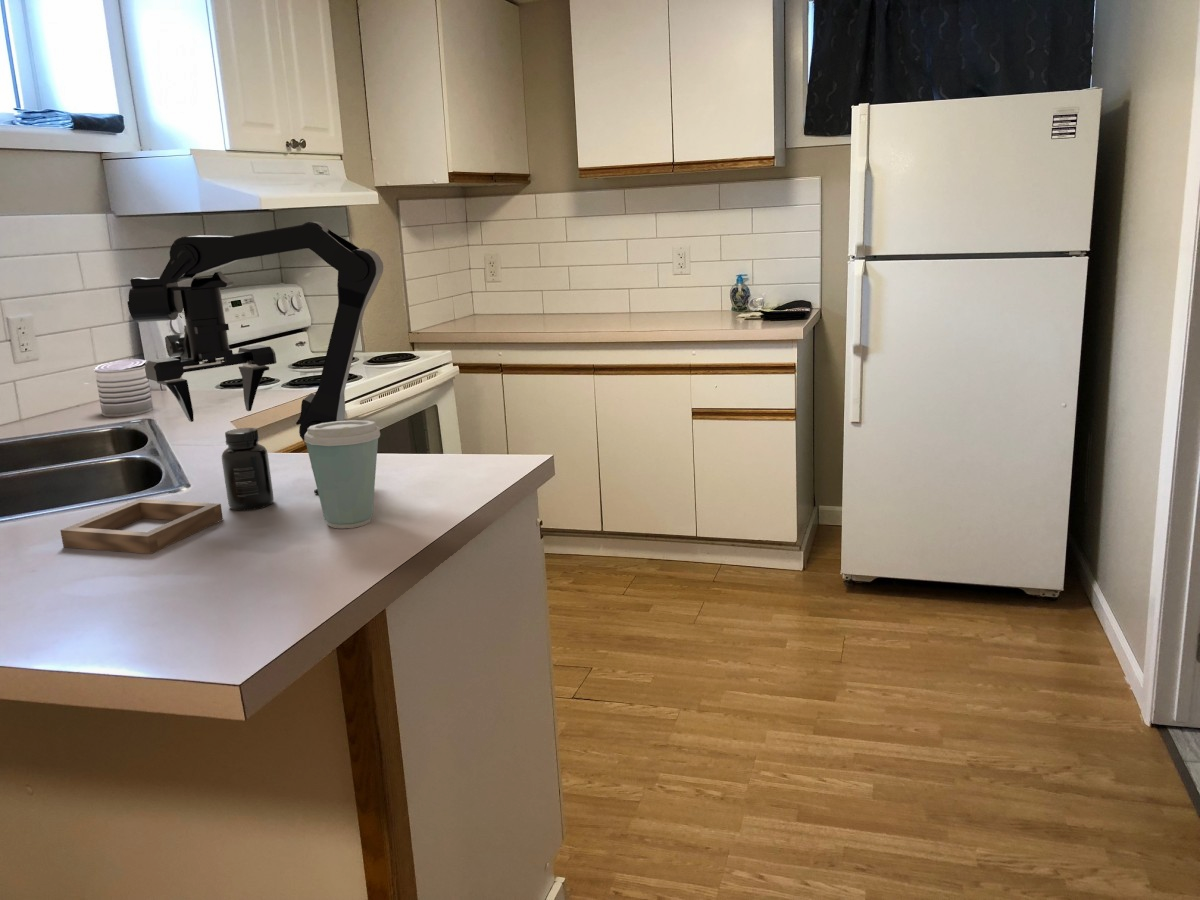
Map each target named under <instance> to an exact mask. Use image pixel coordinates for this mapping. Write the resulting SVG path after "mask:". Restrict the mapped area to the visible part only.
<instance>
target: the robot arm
mask: <svg viewBox="0 0 1200 900" xmlns="http://www.w3.org/2000/svg"><path fill="white" fill-rule="evenodd" d="M304 249H305V250H306V249H309V250H310V251H311V252H313V253H315V254H316V255H317V256H318V257H319V258H321V259H322V260H323V261H324V262H326V264H327V265H329V266H331V267H332V269H335V270H336V271H337V285H336V286H337V289H336V290H337V299H338V300H337V301H338V303H337V304H338V305H337V310H336V313H335V318H334V322H333V326H332V329H331V334H330V338H329V341H328V342H329V343H328V347H327V350H326V354H325V359H324V362H323V367H322V370H321V376H320V378H319V384H318V388H317V390H316V392H315V393H313V392H312V393H310V394H309V395H307V396H305V397H304V398H303V399H302V401H301V407H300V415H299V418H298V420H297V421H296V422H295V424H296V425H299V429H298V433H299V434H298V435H299V437H300V438H301V439H302V441H303V443H305V444H306V442H304V435H305V434H306V432H307V429H308V428H309V427H310V426H313V425H317V424H321V423H327V422H335V421H346V420H345V417H346V399H345V391H346V386H347V382H348V378H349V374H350V370H351V366H352V363H353V358H354V354H355V350H356V345H357V342H358V339H359V334H360V329H361V326H362V321H363V317H364V314H365V310H366V308H367V306H368V304H369V302H370V300H371V298H372V297H373V295H374V293H375V291H376V288H377V286H378V284H379V282H380V280H381V277H382V276H383V272H384V263H383V260H382V258H381V257H380V256H379V254H378V253H376V252H375V250H372V249H371V248H359V247H358V246H357V245H355V244H354V243H353V242H351V241H349V240H347V239H346V238H344V237H342V236H341V235H339V234H337V233H336V232H334V231H332V230H331V229H330V228H328V227H327V225H325V224H324V223H323V222H320V221H308V222H305V223H303V224H300V225H293V226H288V227H279V228H275V229H274V228H273V229H268V230H264V231H263V230H262V231H258V232H253V233H252V232H251V233H245V234H240V235H239V234H238V235H190V236H181V237H178V238H176V239H175V240H174V241H173V243H172V245H170V249H169V258H170V259H169V260H168V262H167V263H166V266H165V267H164V269H163V271H162V273H161V274H160V277H134V278H131V279H130V285H131V286H130V288H129V292H128V300H127V301H126V302H127V307H128V311H129V314H130V316H131V318H132V319H133V321H134V322H136V323H149V322H150V323H151V322H162V321H163V322H165V321H175V320H177V319H178V316H179V314H181V313H182V312H183V314H184V321H185V325H184V326H183V327H184V328H183V330H184V331H183V332H184V337H180V335H179V334H178V333H177V334H169V335H166V336H165V337H164V341H165V342H164V343H165V349H166V353H167V355H168V357H164V358H157V359H151V360H147V361H146V362H145V372H146V378H147V379H149V380H150V381H154V382H156V384H160V385H162V386H166V387H167V388H168V389H169V390H170V391H171V393H172V394H173V396H174V398H175V399H176V400H177V402H178V404H179V406H180V408H181V409H182V411H183V413H184V414H185V417H186V418H187V420H188V422H190V423H192V422H194V417H195V416H194V409H193V404H192V399H191V394H190V389H189V382H188V379H184V378H183V375H184V373H190V372H196V371H203V370H209V369H216V368H221V367H222V368H223V367H229V366H236V365H239V366H238V369H239V372H240V376H241V378H242V389H243V401H244V406H245V410H246V411H247V412H251V411H252V408H253V405H254V402H255V398H256V395H257V391H258V389H259V386H260V382H261V380H262V378H263V375H264V373H265V371H269V370H270V365H275V364H277V362H278V361H277V357H276V355H277V354H276V352H275V350H274V349H273V348H272V346H270V345H269V346H268V345H263V344H262V345H261V344H256V345H249V346H241V347H238V352H233V349H231V348H230V344H229V337H228V331H230V327H229V323H228V322H226V318H225V312H224V305H223V300H222V294H221V288H227V287H232V286H234V281H233V280H231V279H229V278H228V277H227V276H225V275H224V273H223V272H222V271H216V272H214V273H213V274H212V276H208V277H196V276H197V275H200V274H206V273H209V272H212V271H215V270H218V269H221V268H223V267H226V266H229V265H231V264H233V263H236V262H238V261H241V260H242V261H243V259H252V258H258V257H262V256H269V255H274V254H275V255H276V254H281V253H286V252H293V251H294V252H295V251H299V250H304ZM195 277H196V278H195ZM188 280H189V281H191V283H190V284H187V285H179V284H178V283H179V282H185V281H188ZM176 357H180V359H179V358H176ZM268 365H269V366H268ZM314 494H317V495H319V494H318V490H317V488H316V489H314Z"/></svg>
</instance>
